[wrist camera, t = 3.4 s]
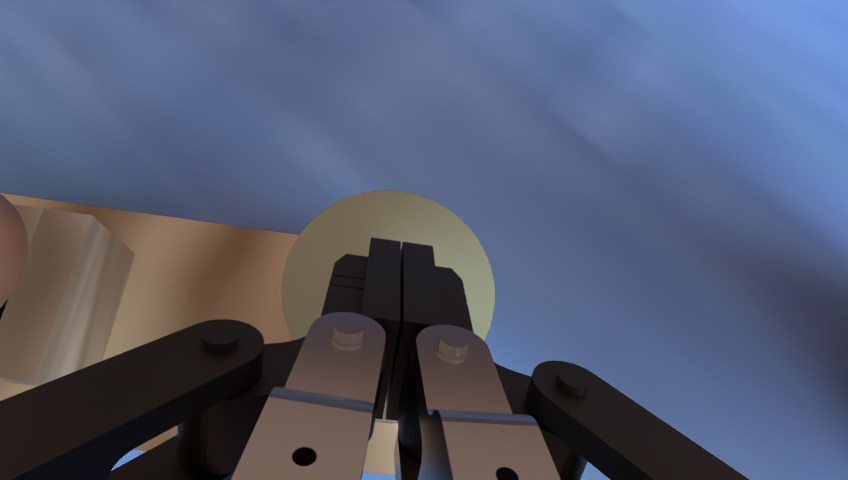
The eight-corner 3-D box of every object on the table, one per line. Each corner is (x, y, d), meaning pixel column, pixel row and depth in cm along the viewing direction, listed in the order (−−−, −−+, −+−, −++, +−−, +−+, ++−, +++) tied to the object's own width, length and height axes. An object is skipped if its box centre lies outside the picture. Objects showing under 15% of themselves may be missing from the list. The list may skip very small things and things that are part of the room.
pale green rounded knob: (453, 274, 22) (499, 206, 15) (441, 419, 20) (489, 409, 13) (313, 254, 21) (302, 176, 15) (287, 402, 19) (260, 384, 13)
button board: (477, 269, 28) (511, 227, 22) (464, 479, 24) (501, 492, 19) (-17, 201, 25) (-118, 134, 20) (-114, 423, 22) (-271, 418, 16)
